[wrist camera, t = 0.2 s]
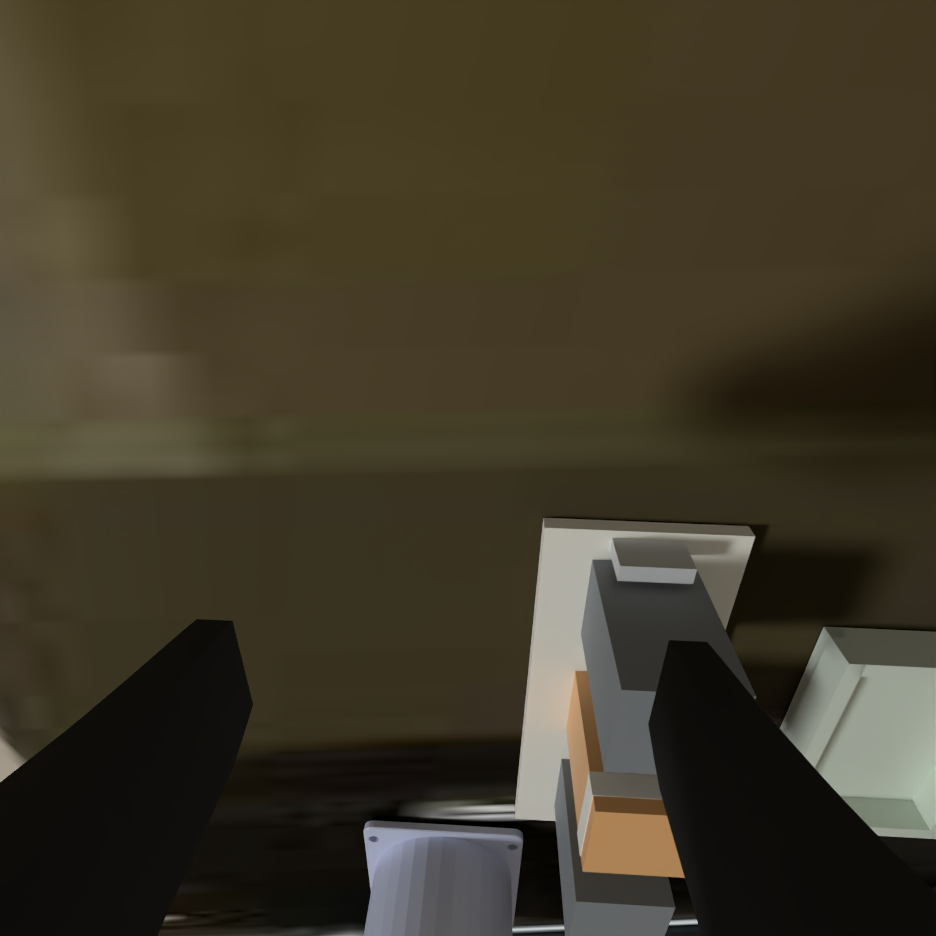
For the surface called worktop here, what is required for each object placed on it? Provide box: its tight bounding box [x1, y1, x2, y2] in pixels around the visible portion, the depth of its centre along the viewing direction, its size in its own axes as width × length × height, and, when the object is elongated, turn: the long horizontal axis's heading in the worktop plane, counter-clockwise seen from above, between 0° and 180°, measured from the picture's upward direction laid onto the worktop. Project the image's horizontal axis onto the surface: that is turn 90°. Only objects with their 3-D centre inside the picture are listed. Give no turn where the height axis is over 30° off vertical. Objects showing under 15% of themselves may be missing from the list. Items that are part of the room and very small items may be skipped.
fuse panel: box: [515, 518, 756, 936], centre depth 21 cm, size 17×7×6 cm, turn 179°
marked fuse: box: [566, 671, 685, 878], centre depth 21 cm, size 4×4×6 cm
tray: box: [780, 627, 936, 839], centre depth 23 cm, size 10×7×2 cm
